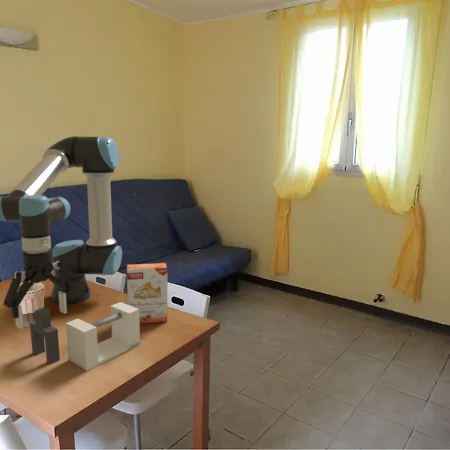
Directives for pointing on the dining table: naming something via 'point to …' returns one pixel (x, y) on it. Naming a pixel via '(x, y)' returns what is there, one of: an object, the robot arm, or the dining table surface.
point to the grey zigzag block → (41, 330)
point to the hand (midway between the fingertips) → (42, 319)
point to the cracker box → (148, 291)
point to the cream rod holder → (119, 342)
